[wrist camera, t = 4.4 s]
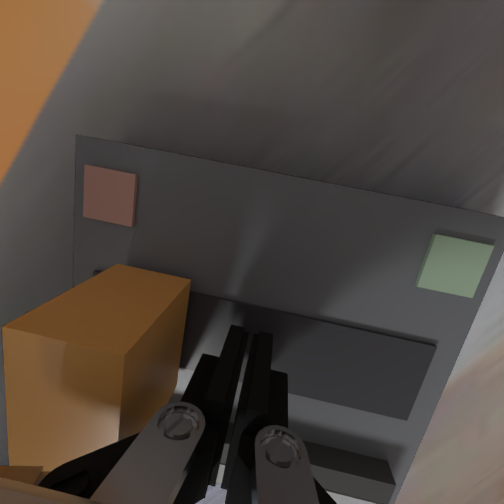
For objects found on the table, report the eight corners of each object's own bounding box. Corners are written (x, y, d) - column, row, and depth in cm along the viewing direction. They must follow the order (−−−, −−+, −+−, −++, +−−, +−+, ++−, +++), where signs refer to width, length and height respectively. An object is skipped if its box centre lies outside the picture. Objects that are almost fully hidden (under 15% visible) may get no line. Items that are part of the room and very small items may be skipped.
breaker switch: (176, 385, 13) (112, 511, 8) (110, 370, 13) (10, 483, 8) (191, 279, 12) (124, 355, 7) (117, 263, 12) (2, 326, 7)
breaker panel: (373, 452, 17) (399, 537, 13) (104, 387, 18) (53, 448, 14) (466, 209, 13) (543, 225, 9) (119, 142, 14) (54, 130, 10)
